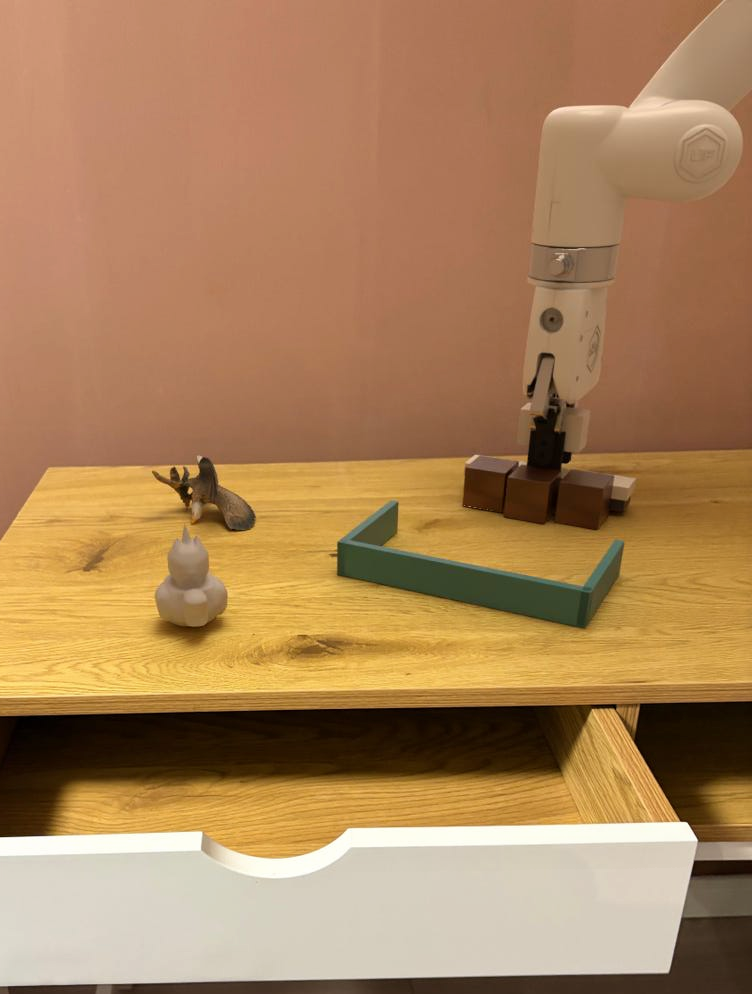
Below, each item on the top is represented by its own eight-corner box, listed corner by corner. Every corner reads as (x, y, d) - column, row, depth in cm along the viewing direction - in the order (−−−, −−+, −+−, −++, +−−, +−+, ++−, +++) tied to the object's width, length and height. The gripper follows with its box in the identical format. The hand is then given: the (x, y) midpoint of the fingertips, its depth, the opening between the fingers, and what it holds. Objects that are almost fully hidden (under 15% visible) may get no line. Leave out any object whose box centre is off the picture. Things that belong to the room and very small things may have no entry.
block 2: (557, 510, 93) (562, 470, 92) (545, 524, 90) (549, 483, 89) (516, 503, 95) (520, 464, 93) (503, 517, 92) (507, 476, 90)
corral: (619, 574, 81) (625, 540, 79) (585, 628, 73) (590, 592, 71) (389, 530, 90) (390, 500, 89) (336, 574, 82) (337, 541, 81)
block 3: (608, 515, 92) (614, 475, 90) (597, 530, 89) (603, 488, 87) (566, 508, 94) (571, 468, 92) (554, 522, 91) (559, 481, 89)
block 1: (515, 500, 96) (519, 461, 94) (501, 513, 93) (505, 473, 91) (476, 493, 98) (479, 455, 96) (462, 506, 95) (465, 467, 93)
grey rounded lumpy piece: (220, 602, 78) (215, 508, 74) (236, 640, 72) (231, 541, 68) (153, 610, 77) (144, 515, 73) (163, 650, 71) (154, 549, 67)
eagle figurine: (141, 512, 92) (207, 516, 87) (158, 440, 93) (225, 439, 87) (196, 533, 98) (262, 538, 92) (212, 465, 99) (278, 466, 93)
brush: (632, 503, 93) (646, 415, 89) (624, 513, 91) (639, 424, 87) (473, 477, 101) (479, 395, 97) (462, 486, 98) (468, 403, 94)
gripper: (591, 281, 78) (563, 498, 87) (637, 255, 90) (608, 448, 99) (500, 276, 81) (482, 485, 90) (556, 251, 93) (536, 438, 102)
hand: (548, 464), depth 94 cm, fingers closed on brush, 2 cm apart
